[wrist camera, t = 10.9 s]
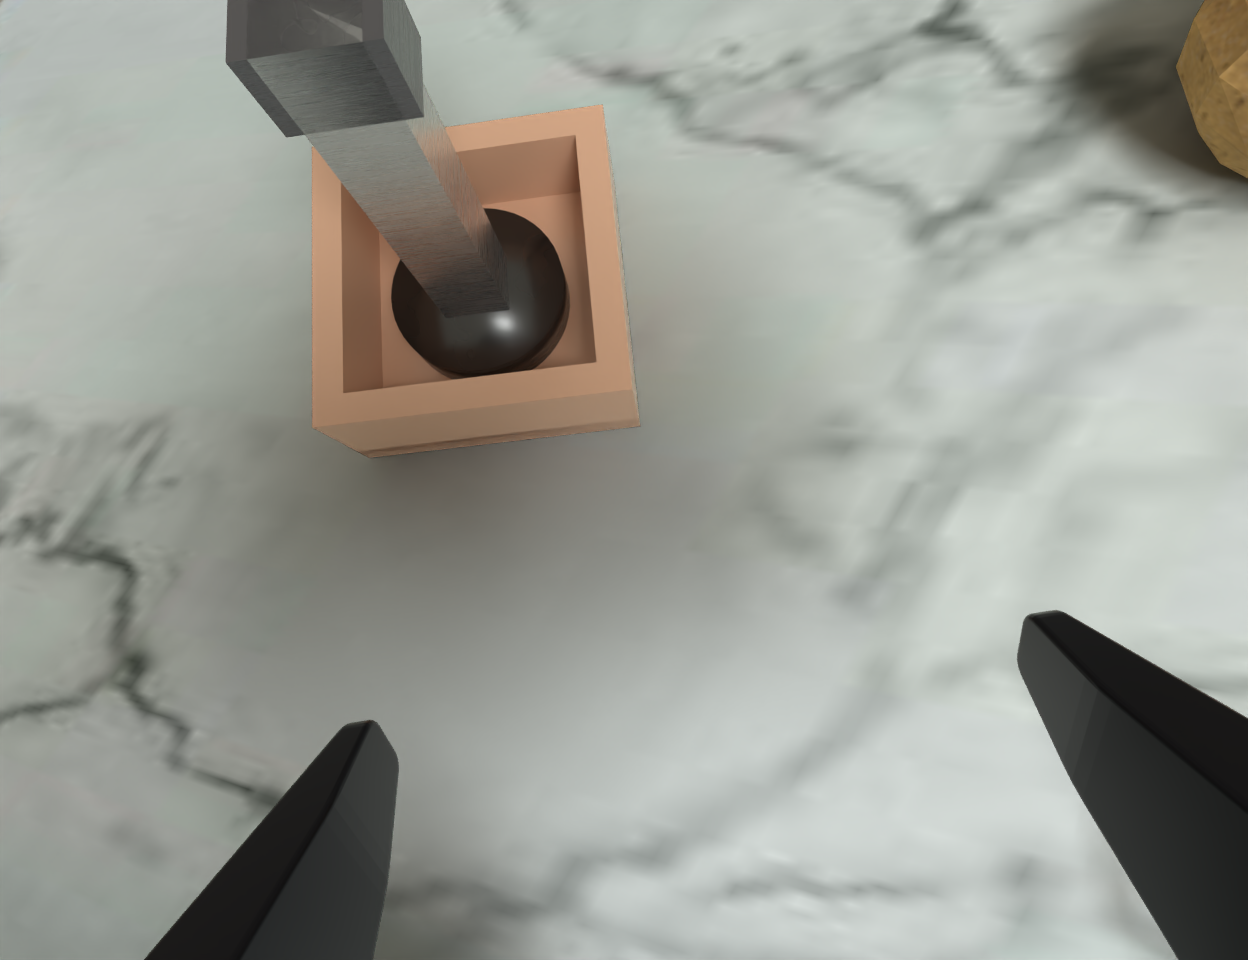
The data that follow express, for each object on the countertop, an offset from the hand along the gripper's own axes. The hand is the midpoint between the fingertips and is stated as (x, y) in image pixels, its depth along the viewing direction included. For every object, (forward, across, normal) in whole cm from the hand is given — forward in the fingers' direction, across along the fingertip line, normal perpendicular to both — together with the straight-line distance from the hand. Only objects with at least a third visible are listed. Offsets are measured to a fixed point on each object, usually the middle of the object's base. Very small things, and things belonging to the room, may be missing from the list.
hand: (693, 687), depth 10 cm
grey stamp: (+18, +5, 0) cm, 19 cm away
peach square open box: (+19, +5, 0) cm, 20 cm away
